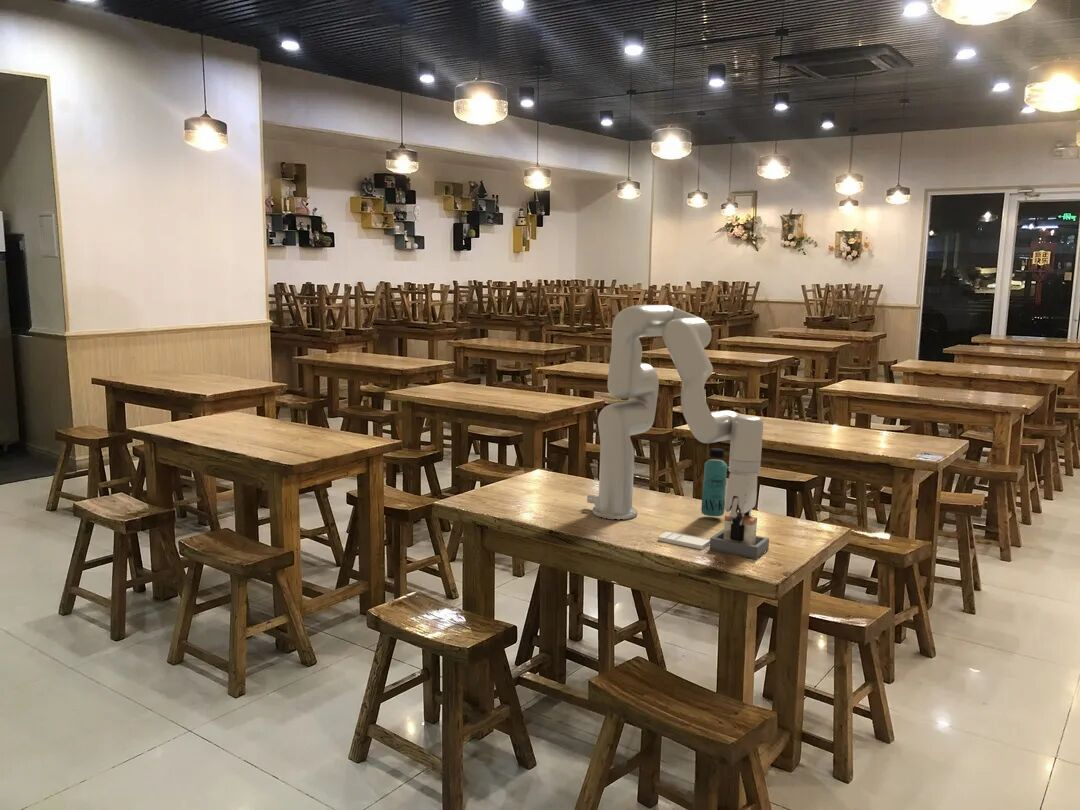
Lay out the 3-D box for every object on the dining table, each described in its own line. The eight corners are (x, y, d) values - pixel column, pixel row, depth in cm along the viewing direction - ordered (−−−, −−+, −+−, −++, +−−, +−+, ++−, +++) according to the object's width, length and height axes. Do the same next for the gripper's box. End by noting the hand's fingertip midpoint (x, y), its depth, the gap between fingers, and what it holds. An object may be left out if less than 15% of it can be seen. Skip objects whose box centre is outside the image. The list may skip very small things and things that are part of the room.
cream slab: (657, 540, 218) (658, 536, 218) (667, 534, 223) (667, 530, 223) (702, 549, 212) (702, 545, 212) (711, 543, 217) (711, 539, 217)
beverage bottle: (696, 516, 241) (700, 446, 238) (716, 514, 243) (720, 445, 240) (708, 522, 235) (712, 451, 232) (729, 520, 237) (733, 450, 234)
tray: (709, 549, 212) (710, 538, 212) (722, 540, 220) (723, 529, 219) (756, 559, 206) (757, 547, 205) (768, 549, 213) (769, 538, 213)
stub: (723, 543, 213) (724, 515, 212) (728, 539, 216) (729, 512, 215) (750, 548, 209) (752, 520, 208) (755, 544, 212) (757, 517, 211)
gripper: (741, 458, 218) (736, 527, 221) (717, 469, 204) (713, 543, 207) (770, 462, 214) (765, 532, 217) (748, 474, 200) (743, 549, 203)
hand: (739, 537), depth 212 cm, fingers closed on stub, 3 cm apart
